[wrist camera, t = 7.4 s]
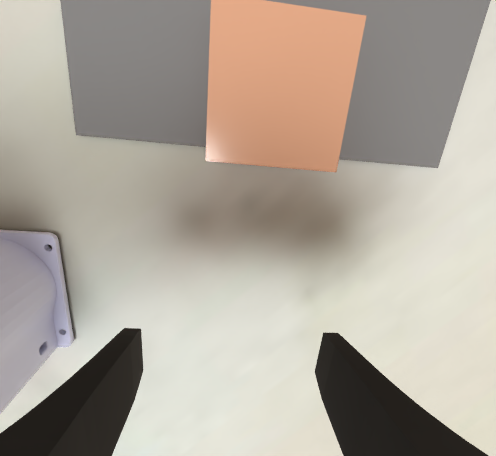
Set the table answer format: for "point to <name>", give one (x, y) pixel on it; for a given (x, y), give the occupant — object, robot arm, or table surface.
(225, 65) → the peach square slab
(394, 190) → the table surface
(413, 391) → the table surface
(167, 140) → the rubber mat
